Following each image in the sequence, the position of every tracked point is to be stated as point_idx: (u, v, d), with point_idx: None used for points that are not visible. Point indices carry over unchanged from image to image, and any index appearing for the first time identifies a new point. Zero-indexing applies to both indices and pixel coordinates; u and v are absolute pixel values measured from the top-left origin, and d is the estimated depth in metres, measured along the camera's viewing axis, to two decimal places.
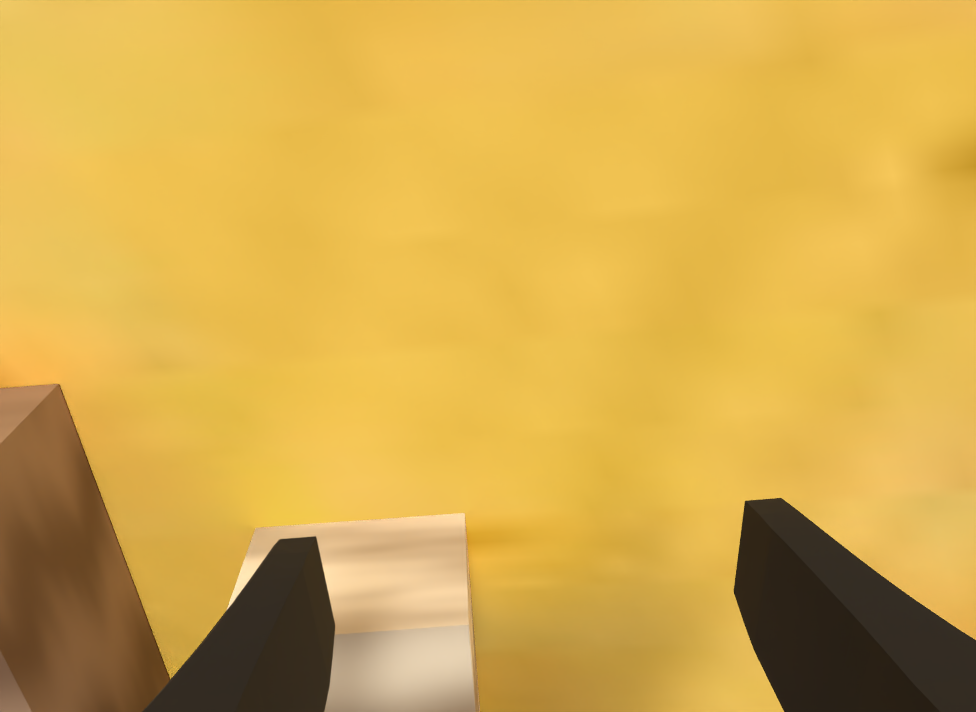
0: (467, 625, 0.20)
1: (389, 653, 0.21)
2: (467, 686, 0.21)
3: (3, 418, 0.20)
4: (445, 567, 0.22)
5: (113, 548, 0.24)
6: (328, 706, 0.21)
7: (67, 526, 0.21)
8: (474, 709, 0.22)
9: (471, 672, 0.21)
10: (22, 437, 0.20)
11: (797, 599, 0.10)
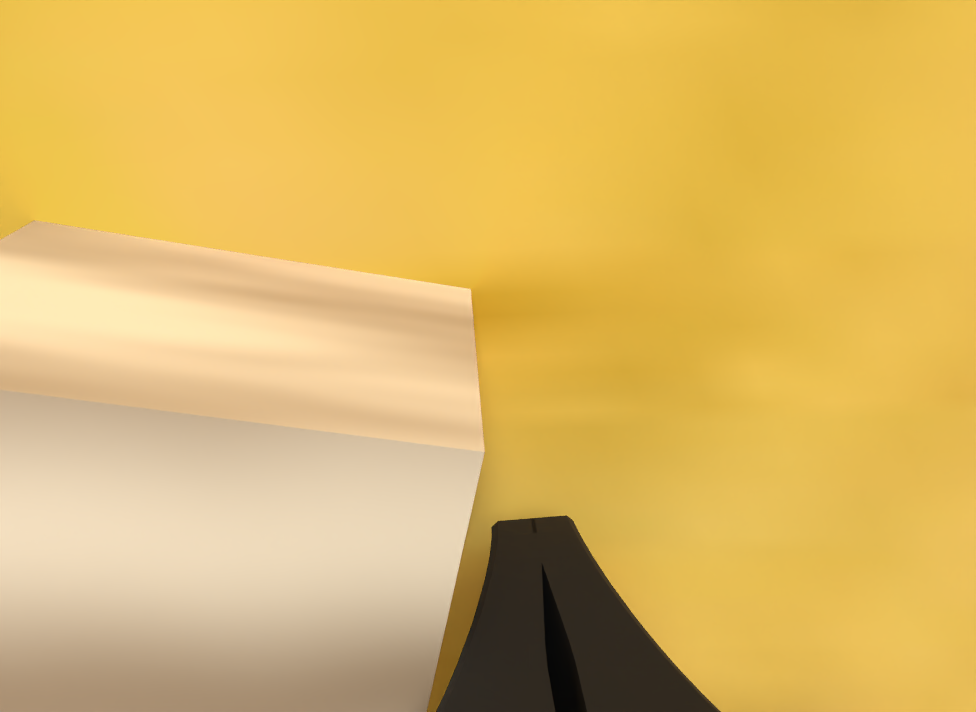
0: (481, 453, 0.08)
1: (270, 493, 0.08)
2: (433, 614, 0.09)
3: None
4: (430, 352, 0.10)
5: None
6: (87, 606, 0.09)
7: None
8: (432, 672, 0.10)
9: (453, 581, 0.09)
10: None
11: (550, 620, 0.10)
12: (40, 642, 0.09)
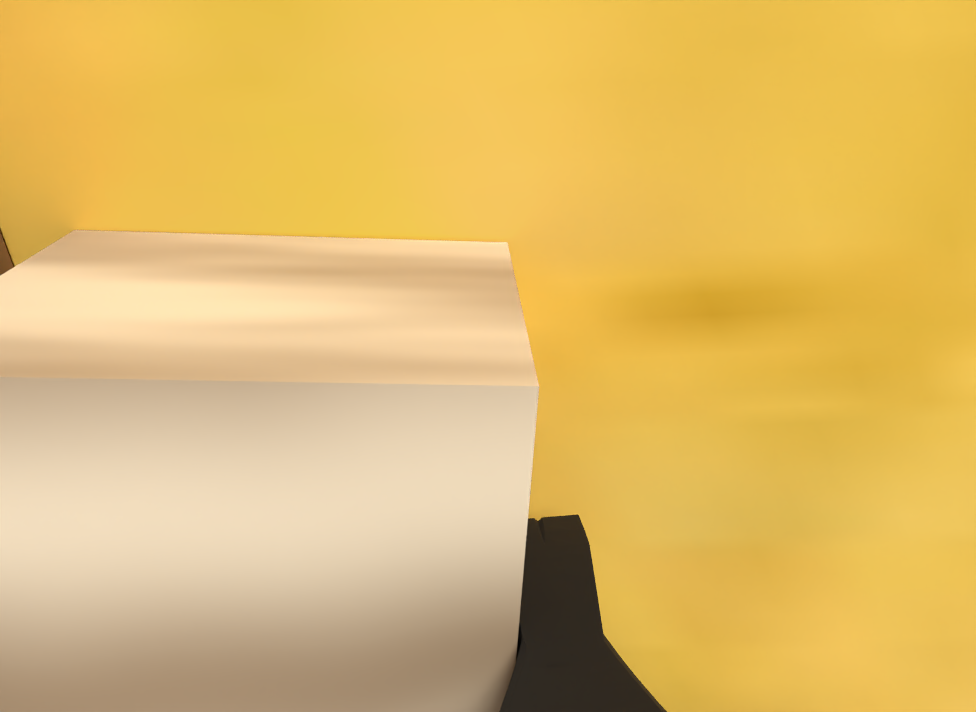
0: (535, 388, 0.08)
1: (324, 456, 0.08)
2: (508, 568, 0.09)
3: None
4: (472, 303, 0.10)
5: None
6: (162, 593, 0.09)
7: None
8: (515, 631, 0.09)
9: (524, 530, 0.09)
10: None
11: None
12: (120, 636, 0.09)
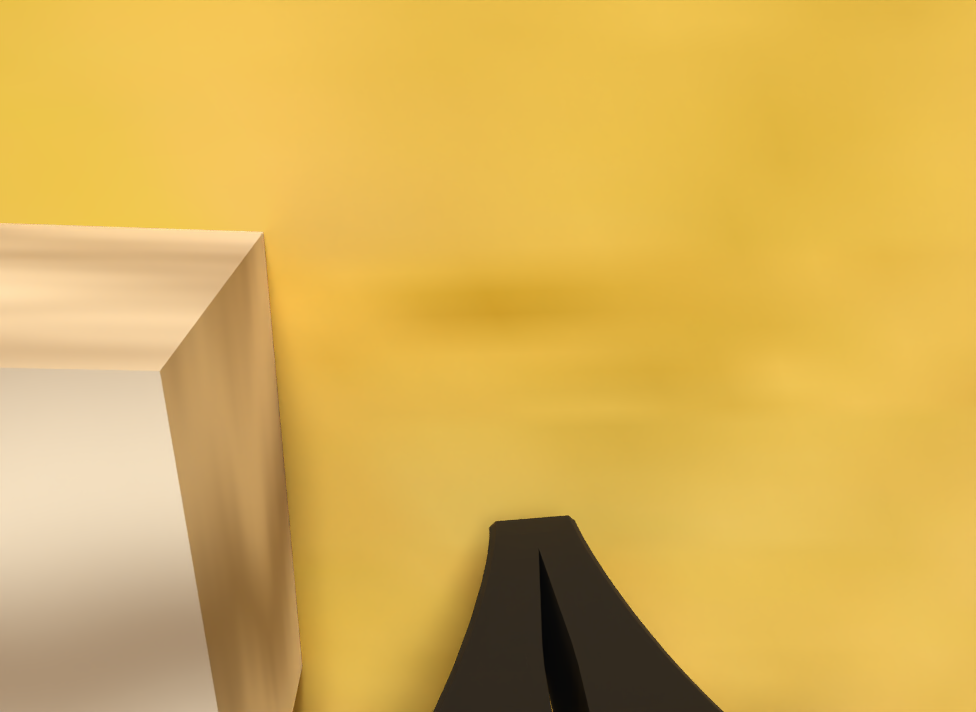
0: (156, 373, 0.08)
1: None
2: (175, 557, 0.09)
3: None
4: (169, 288, 0.09)
5: None
6: None
7: None
8: (200, 620, 0.09)
9: (182, 518, 0.08)
10: None
11: (552, 620, 0.10)
12: None
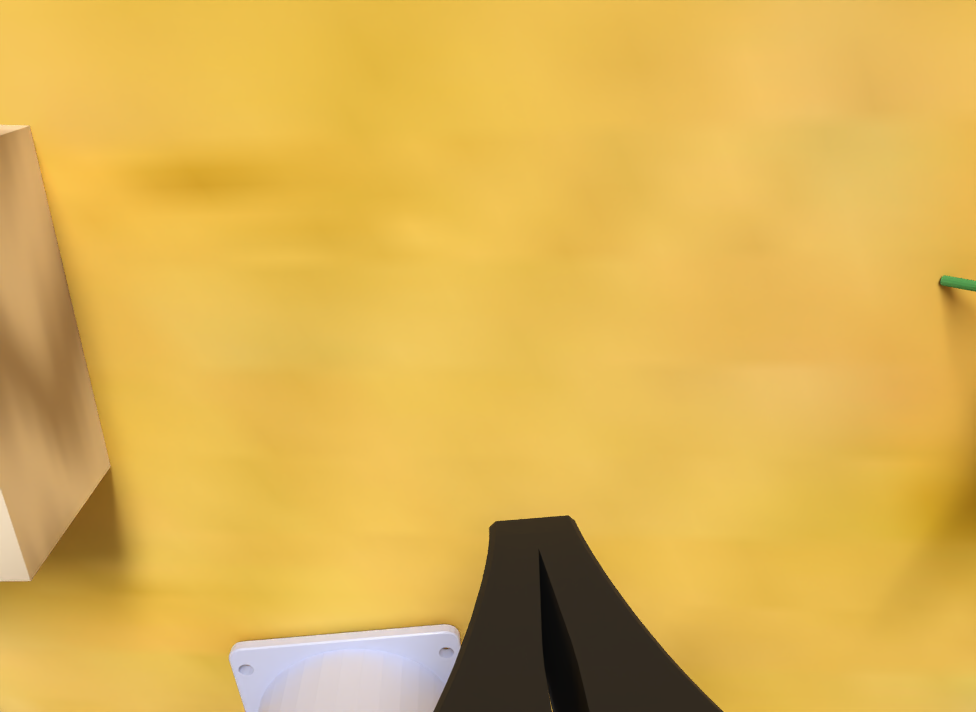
0: None
1: None
2: None
3: None
4: None
5: None
6: None
7: None
8: None
9: None
10: None
11: (552, 620, 0.10)
12: None
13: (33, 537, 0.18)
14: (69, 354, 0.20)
